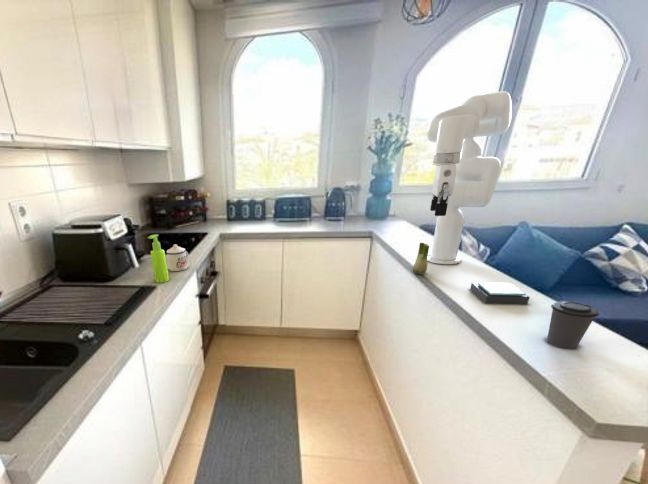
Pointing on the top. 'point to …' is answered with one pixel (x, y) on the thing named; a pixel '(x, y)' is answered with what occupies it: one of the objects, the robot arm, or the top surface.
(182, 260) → the teacup with lid
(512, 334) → the top surface
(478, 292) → the scale
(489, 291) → the scale pan
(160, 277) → the soap dispenser
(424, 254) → the fennel bulb
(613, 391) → the top surface
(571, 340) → the coffee cup
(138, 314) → the top surface
